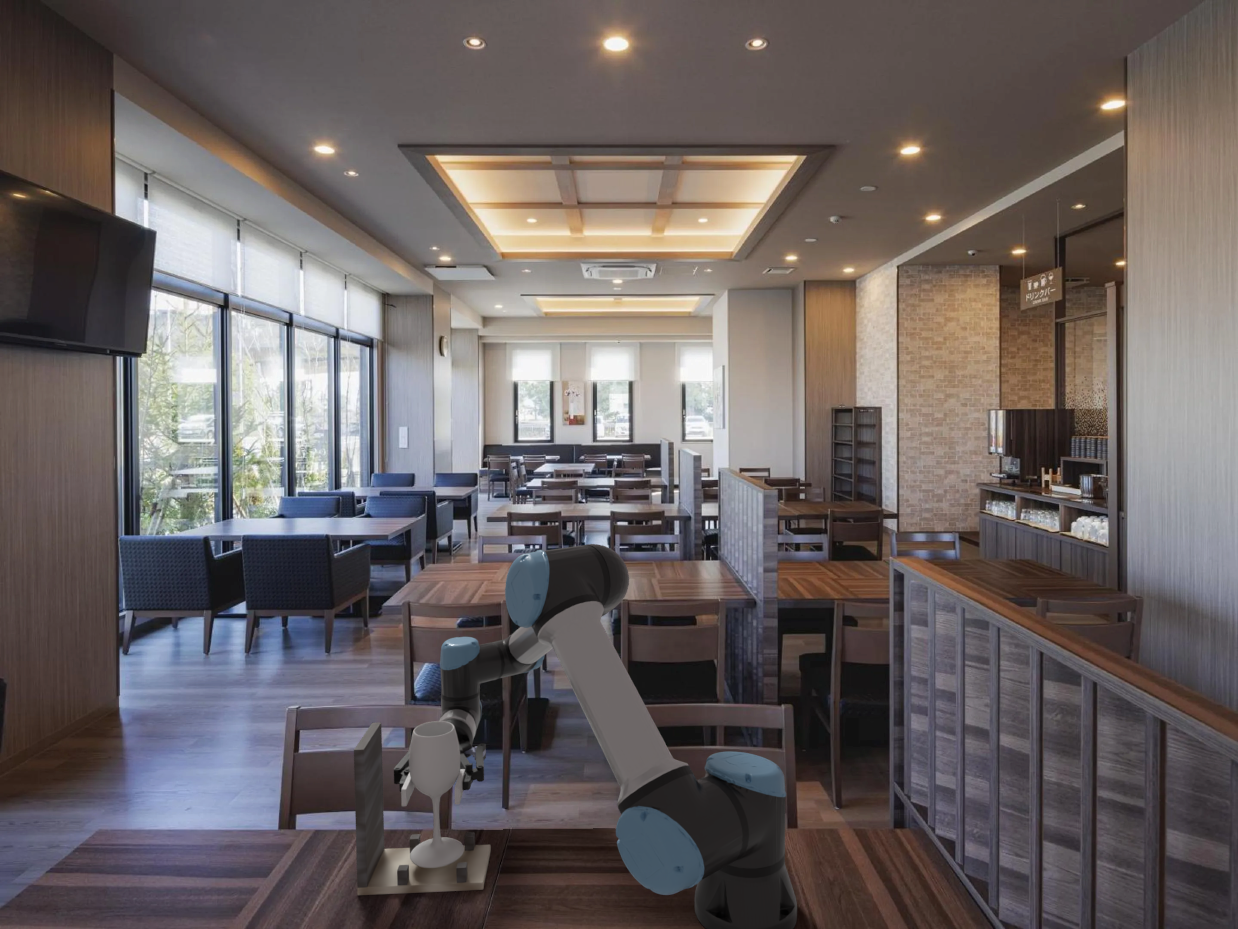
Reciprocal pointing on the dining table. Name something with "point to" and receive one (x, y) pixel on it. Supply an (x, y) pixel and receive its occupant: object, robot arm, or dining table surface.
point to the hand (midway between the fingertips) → (430, 796)
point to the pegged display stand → (394, 866)
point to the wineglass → (435, 786)
